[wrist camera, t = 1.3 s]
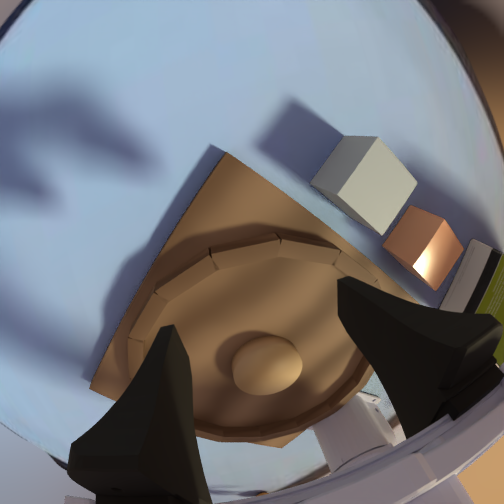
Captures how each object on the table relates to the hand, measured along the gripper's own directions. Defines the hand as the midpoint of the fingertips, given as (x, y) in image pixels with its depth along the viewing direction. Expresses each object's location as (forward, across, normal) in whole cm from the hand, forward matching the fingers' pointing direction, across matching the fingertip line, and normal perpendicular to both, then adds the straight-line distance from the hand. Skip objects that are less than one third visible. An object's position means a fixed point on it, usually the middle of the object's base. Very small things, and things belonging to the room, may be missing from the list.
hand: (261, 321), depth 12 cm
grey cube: (+10, -10, -2) cm, 14 cm away
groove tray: (+9, 0, +12) cm, 15 cm away
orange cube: (+9, -16, +4) cm, 19 cm away
